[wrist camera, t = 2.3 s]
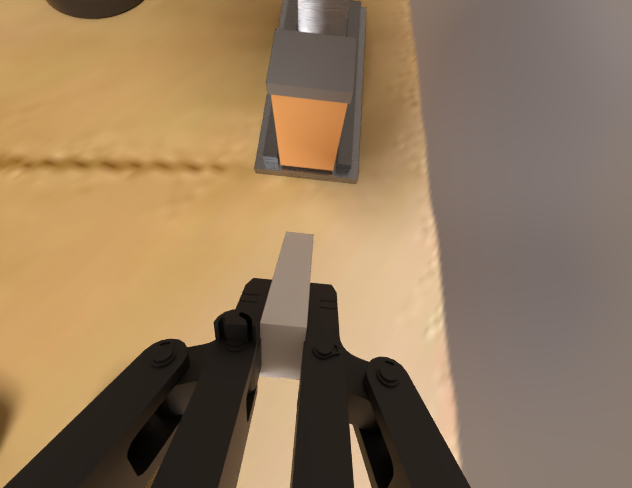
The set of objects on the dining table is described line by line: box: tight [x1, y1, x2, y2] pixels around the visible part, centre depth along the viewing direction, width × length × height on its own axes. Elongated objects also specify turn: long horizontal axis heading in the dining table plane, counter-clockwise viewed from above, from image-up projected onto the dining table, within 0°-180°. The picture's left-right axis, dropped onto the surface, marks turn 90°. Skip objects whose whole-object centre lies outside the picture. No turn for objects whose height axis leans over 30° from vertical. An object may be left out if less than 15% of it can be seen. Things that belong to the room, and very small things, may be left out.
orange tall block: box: [266, 28, 356, 171], centre depth 25 cm, size 5×6×11 cm
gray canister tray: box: [254, 0, 366, 184], centre depth 29 cm, size 28×12×12 cm, turn 175°
